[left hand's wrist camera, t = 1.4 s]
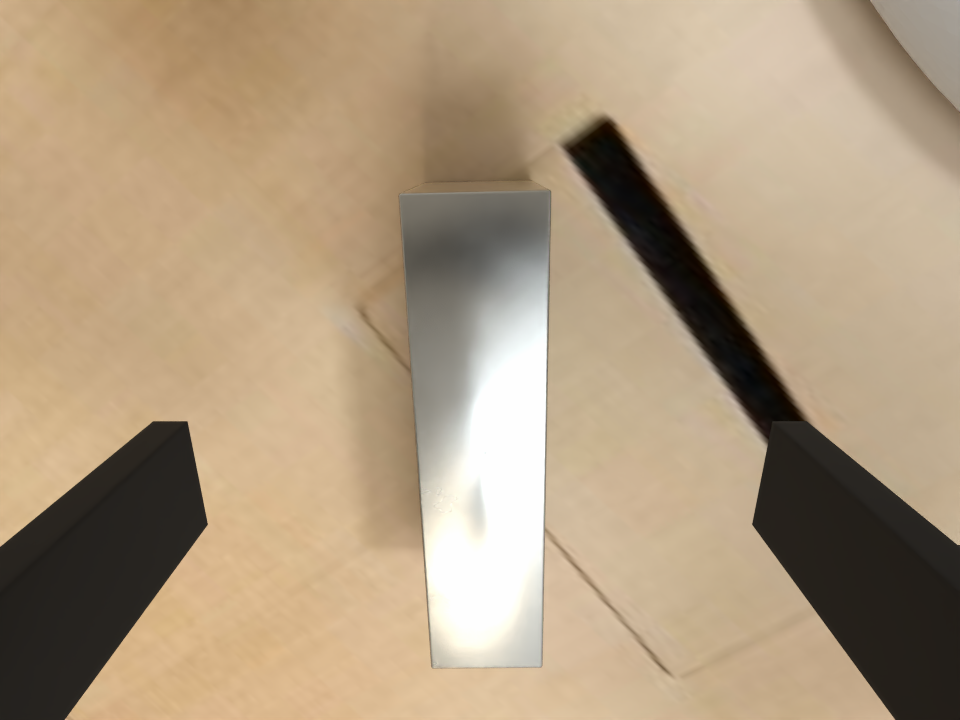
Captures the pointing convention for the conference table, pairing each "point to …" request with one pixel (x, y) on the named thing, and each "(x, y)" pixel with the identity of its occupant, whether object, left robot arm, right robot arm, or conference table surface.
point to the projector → (928, 38)
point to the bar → (480, 412)
